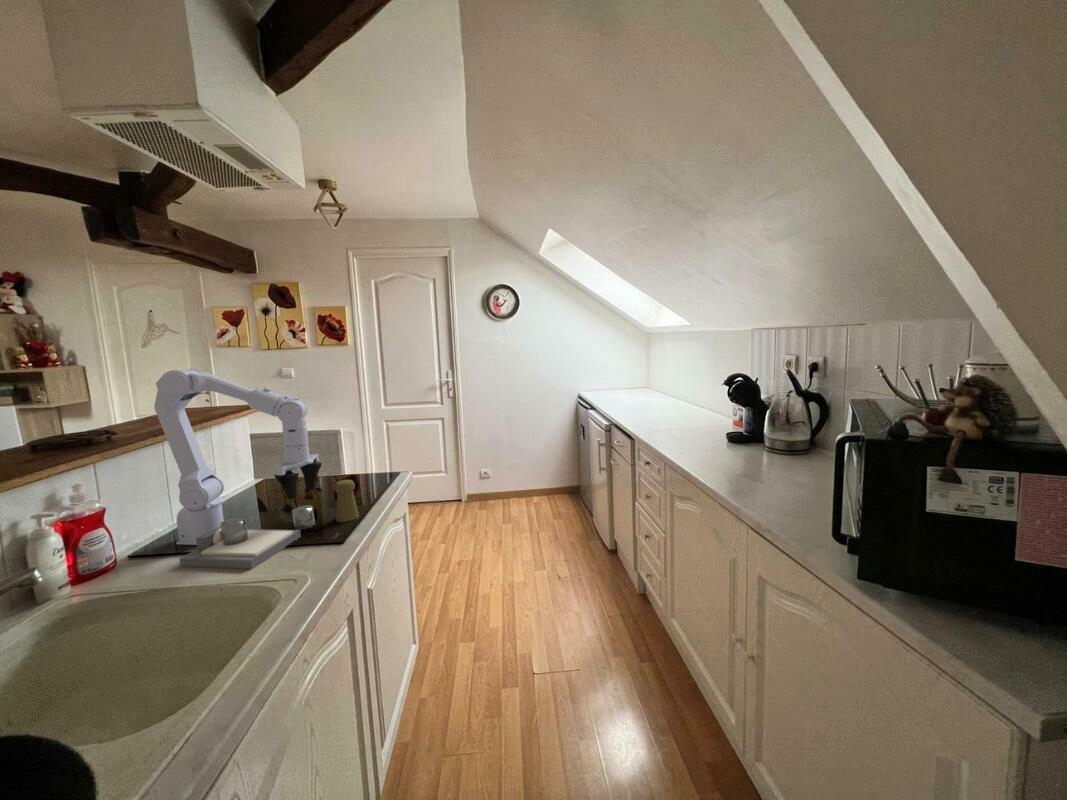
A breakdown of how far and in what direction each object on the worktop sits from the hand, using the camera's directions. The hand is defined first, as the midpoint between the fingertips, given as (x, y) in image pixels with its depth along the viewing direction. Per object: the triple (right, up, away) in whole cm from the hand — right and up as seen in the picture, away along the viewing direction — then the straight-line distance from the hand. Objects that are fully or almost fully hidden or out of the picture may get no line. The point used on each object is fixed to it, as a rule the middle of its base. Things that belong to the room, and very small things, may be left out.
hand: (301, 493), depth 116 cm
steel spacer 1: (-9, -9, -13) cm, 18 cm away
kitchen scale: (-7, -11, -13) cm, 18 cm away
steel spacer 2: (0, -9, +1) cm, 9 cm away
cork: (+10, -9, +6) cm, 14 cm away
